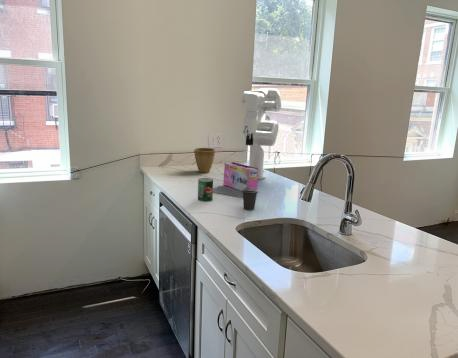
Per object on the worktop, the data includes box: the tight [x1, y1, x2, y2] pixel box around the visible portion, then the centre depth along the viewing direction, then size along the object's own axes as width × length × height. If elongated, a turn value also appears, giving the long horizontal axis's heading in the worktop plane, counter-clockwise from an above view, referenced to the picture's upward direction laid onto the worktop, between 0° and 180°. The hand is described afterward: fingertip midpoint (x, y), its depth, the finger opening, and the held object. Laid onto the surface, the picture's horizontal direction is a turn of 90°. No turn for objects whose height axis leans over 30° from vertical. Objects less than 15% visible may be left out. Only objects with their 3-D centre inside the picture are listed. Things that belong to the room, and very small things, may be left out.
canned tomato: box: [197, 177, 214, 203], centre depth 201 cm, size 8×8×11 cm
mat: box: [213, 185, 243, 199], centre depth 219 cm, size 14×24×1 cm, turn 60°
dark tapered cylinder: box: [242, 188, 259, 211], centre depth 189 cm, size 8×8×10 cm
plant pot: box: [193, 147, 216, 174], centre depth 268 cm, size 15×15×16 cm
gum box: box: [223, 161, 259, 191], centre depth 228 cm, size 24×8×14 cm, turn 39°
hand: (249, 144), depth 232 cm, fingers closed
